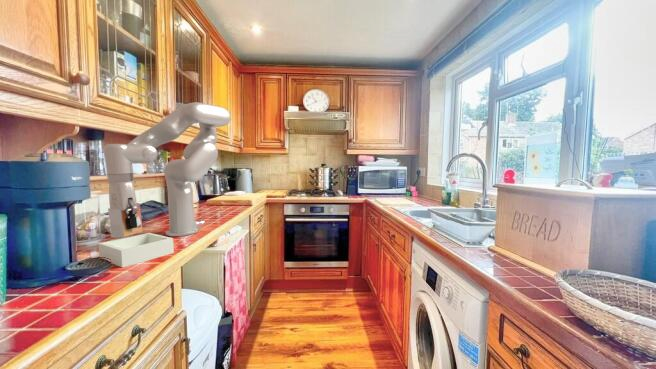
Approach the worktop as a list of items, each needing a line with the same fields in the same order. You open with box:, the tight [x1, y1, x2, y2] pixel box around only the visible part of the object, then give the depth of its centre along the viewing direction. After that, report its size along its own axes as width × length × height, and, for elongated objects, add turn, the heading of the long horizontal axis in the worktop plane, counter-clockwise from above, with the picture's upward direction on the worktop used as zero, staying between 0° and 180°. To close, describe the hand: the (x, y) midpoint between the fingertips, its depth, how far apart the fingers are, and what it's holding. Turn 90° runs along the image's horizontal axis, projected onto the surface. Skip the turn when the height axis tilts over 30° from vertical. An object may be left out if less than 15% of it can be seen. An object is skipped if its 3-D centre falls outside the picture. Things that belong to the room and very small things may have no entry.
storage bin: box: [97, 232, 175, 268], centre depth 90 cm, size 15×15×5 cm
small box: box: [107, 203, 144, 238], centre depth 101 cm, size 8×6×10 cm
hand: (126, 226), depth 101 cm, fingers closed on small box, 7 cm apart
